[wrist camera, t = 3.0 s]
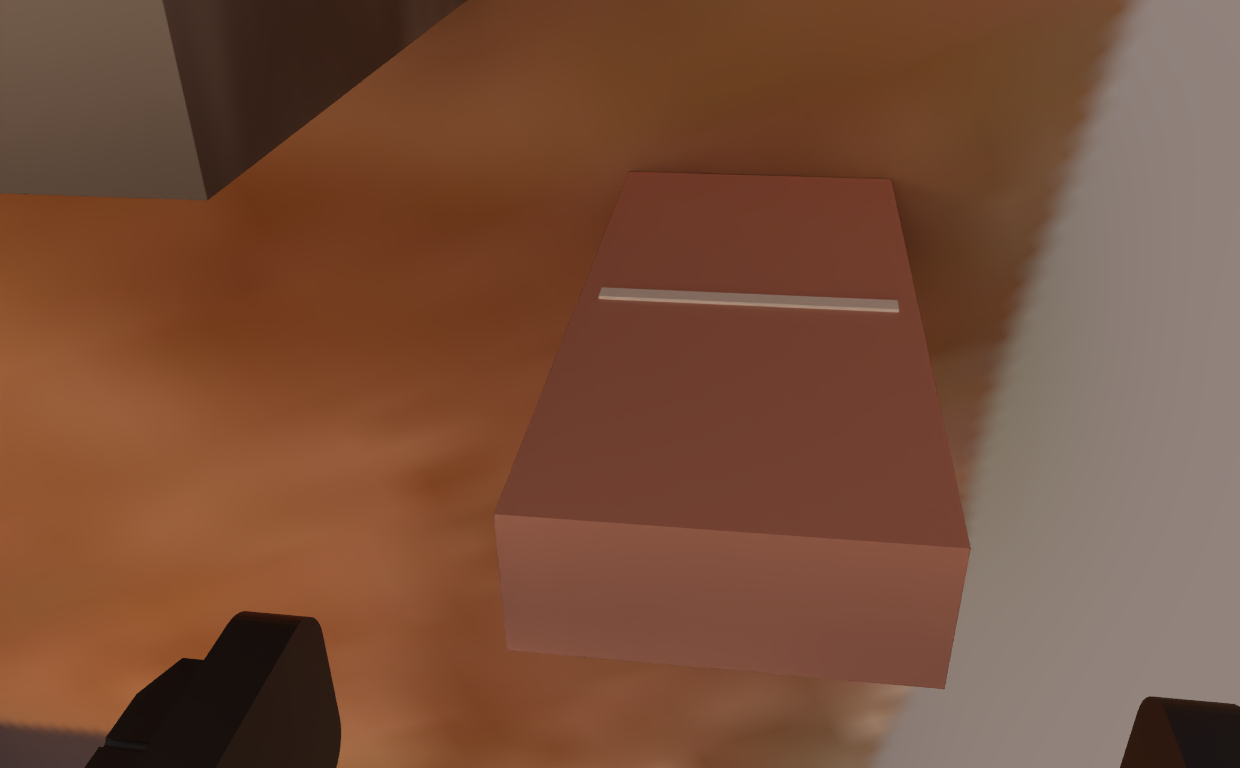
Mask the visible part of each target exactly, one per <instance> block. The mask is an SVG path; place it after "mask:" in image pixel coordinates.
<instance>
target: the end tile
mask: <svg viewBox="0 0 1240 768" xmlns="http://www.w3.org/2000/svg"><path fill="white" fill-rule="evenodd" d="M494 522H495V532H496V542H497V553H498V563H499V573H500V583H501V593H502V603H503V613H504V624H505V634H506V644H507V650H511V651H522V652H534V653H545V654H556V655H567V656H578V657H590V658H601V659H612V660H623V661H635V662H646V663H657V664H668V665H679V666H691V667H702V668H713V669H724V670H735V671H747V672H758V673H769V674H780V675H792V676H803V677H814V678H825V679H836V680H848V681H859V682H870V683H881V684H893V685H904V686H915V687H926V688H937V689H945V684H946V678H947V673H948V667H949V662H950V657H951V651H952V646H953V641H954V635H955V629H956V624H957V619H958V614H959V608H960V603H961V598H962V592H963V587H964V581H965V576H966V571H967V565H968V560H969V555H970V549H971V548H970V544H969V539H968V534H967V530H966V525H965V520H964V516H963V511H962V506H961V502H960V497H959V493H958V488H957V483H956V479H955V474H954V469H953V465H952V460H951V455H950V451H949V446H948V441H947V437H946V432H945V427H944V423H943V418H942V413H941V409H940V404H939V399H938V395H937V390H936V386H935V381H934V376H933V372H932V367H931V362H930V358H929V353H928V348H927V344H926V339H925V334H924V330H923V325H922V320H921V316H920V311H919V306H918V302H917V297H916V293H915V288H914V283H913V279H912V274H911V269H910V265H909V260H908V255H907V251H906V246H905V241H904V237H903V232H902V227H901V223H900V218H899V213H898V209H897V204H896V199H895V195H894V190H893V186H892V181H891V179H871V178H837V177H803V176H769V175H735V174H700V173H666V172H632V171H629V173H628V175H627V178H626V180H625V183H624V185H623V188H622V191H621V193H620V196H619V198H618V201H617V203H616V206H615V208H614V211H613V213H612V216H611V218H610V221H609V223H608V226H607V229H606V231H605V234H604V236H603V239H602V241H601V244H600V246H599V249H598V251H597V254H596V256H595V259H594V261H593V264H592V267H591V269H590V272H589V274H588V277H587V279H586V282H585V284H584V287H583V289H582V292H581V294H580V297H579V299H578V302H577V305H576V307H575V310H574V312H573V315H572V317H571V320H570V322H569V325H568V327H567V330H566V332H565V335H564V337H563V340H562V343H561V345H560V348H559V350H558V353H557V355H556V358H555V360H554V363H553V365H552V368H551V370H550V373H549V375H548V378H547V380H546V383H545V386H544V388H543V391H542V393H541V396H540V398H539V401H538V403H537V406H536V408H535V411H534V413H533V416H532V418H531V421H530V424H529V426H528V429H527V431H526V434H525V436H524V439H523V441H522V444H521V446H520V449H519V451H518V454H517V456H516V459H515V462H514V464H513V467H512V469H511V472H510V474H509V477H508V479H507V482H506V484H505V487H504V489H503V492H502V494H501V497H500V500H499V502H498V505H497V507H496V510H495V512H494Z"/></svg>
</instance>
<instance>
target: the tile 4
mask: <svg viewBox="0 0 1240 768" xmlns="http://www.w3.org/2000/svg"><path fill="white" fill-rule="evenodd" d="M465 1H466V0H0V193H12V194H40V195H69V196H98V197H127V198H156V199H185V200H208V199H210V198H211V197H212V196H214V195H215V194H216V193H218V192H219V191H220V190H221V189H223V188H224V187H225V186H227V185H228V184H229V183H231V182H232V181H233V180H234V179H236V178H237V177H238V176H240V175H241V174H242V173H243V172H245V171H246V170H247V169H249V168H250V167H251V166H253V165H254V164H255V163H256V162H258V161H259V160H260V159H262V158H263V157H264V156H265V155H267V154H268V153H269V152H271V151H272V150H273V149H275V148H276V147H277V146H278V145H280V144H281V143H282V142H284V141H285V140H286V139H287V138H289V137H290V136H291V135H293V134H294V133H295V132H297V131H298V130H299V129H300V128H302V127H303V126H304V125H306V124H307V123H308V122H309V121H311V120H312V119H313V118H315V117H316V116H317V115H319V114H320V113H321V112H322V111H324V110H325V109H326V108H328V107H329V106H330V105H331V104H333V103H334V102H335V101H337V100H338V99H339V98H341V97H342V96H343V95H344V94H346V93H347V92H348V91H350V90H351V89H352V88H353V87H355V86H356V85H357V84H359V83H360V82H361V81H363V80H364V79H365V78H366V77H368V76H369V75H370V74H372V73H373V72H374V71H375V70H377V69H378V68H379V67H381V66H382V65H383V64H385V63H386V62H387V61H388V60H390V59H391V58H392V57H394V56H395V55H396V54H397V53H399V52H400V51H401V50H403V49H404V48H405V47H407V46H408V45H409V44H410V43H412V42H413V41H414V40H416V39H417V38H418V37H419V36H421V35H422V34H423V33H425V32H426V31H427V30H429V29H430V28H431V27H432V26H434V25H435V24H436V23H438V22H439V21H440V20H441V19H443V18H444V17H445V16H447V15H448V14H449V13H451V12H452V11H453V10H454V9H456V8H457V7H458V6H460V5H461V4H462V3H464V2H465Z"/></svg>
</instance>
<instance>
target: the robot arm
mask: <svg viewBox="0 0 1240 768" xmlns="http://www.w3.org/2000/svg"><path fill="white" fill-rule="evenodd" d="M340 743H341V723H340V716H339V711H338V707H337V702H336V697H335V692H334V687H333V682H332V677H331V672H330V667H329V662H328V658H327V653H326V648H325V643H324V638H323V633H322V630H321V627H320V624H319V623H318V621H317V620H316V619H315V618H313V617H303V616H292V615H281V614H270V613H259V612H248V611H243V612H240V613H238V614H237V615H235V616H234V617H233V618H232V619H231V620H230V622H229V623H228V624H227V626H226V627H225V629H224V630H223V632H222V634H221V635H220V637H219V638H218V640H217V641H216V643H215V644H214V646H213V647H212V649H211V650H210V652H209V653H208V655H207V656H206V658H205V659H204V660H198V659H188V658H182V659H181V660H179V661H178V662H177V663H176V664H174V665H173V666H172V667H171V668H169V669H168V670H167V671H165V672H164V673H163V674H162V675H160V676H159V677H158V678H156V679H155V680H154V681H153V682H151V683H150V684H149V685H148V686H146V687H145V688H144V689H142V690H141V691H140V692H139V693H137V694H136V696H135V697H134V698H133V700H132V701H131V703H130V704H129V706H128V707H127V708H126V710H125V711H124V713H123V714H122V715H121V717H120V718H119V720H118V721H117V723H116V724H115V725H114V727H113V728H112V730H111V731H110V732H109V734H108V735H107V737H106V742H105V745H104V747H99V748H98V750H97V751H96V752H95V754H94V755H93V757H92V758H91V760H90V761H89V762H88V763H87V765H86V766H85V768H336V767H337V763H338V758H339V752H340ZM1120 768H1240V707H1239V706H1237V705H1235V704H1228V703H1217V702H1206V701H1195V700H1183V699H1172V698H1161V697H1147V698H1145V699H1144V700H1143V702H1142V703H1141V705H1140V707H1139V710H1138V712H1137V715H1136V719H1135V722H1134V725H1133V728H1132V732H1131V734H1130V738H1129V741H1128V744H1127V748H1126V750H1125V754H1124V757H1123V760H1122V763H1121V767H1120Z"/></svg>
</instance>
